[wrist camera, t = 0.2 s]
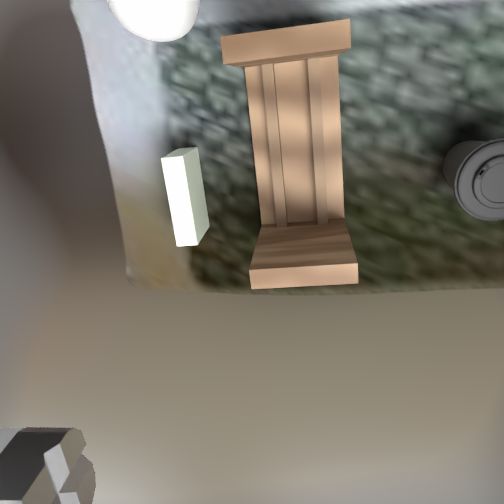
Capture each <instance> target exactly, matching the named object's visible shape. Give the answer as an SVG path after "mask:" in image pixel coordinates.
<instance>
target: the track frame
mask: <svg viewBox="0 0 504 504" xmlns="http://www.w3.org/2000/svg"><path fill="white" fill-rule="evenodd" d="M220 39H221V47H222V55H223V64H227V65H233V66H239V67H245V77H246V86H247V95H248V104H249V113H250V122H251V131H252V141H253V150H254V159H255V168H256V177H257V186H258V195H259V204H260V214H261V223H262V225H261V229H260V233H259V236H258V240H257V243H256V247H255V251H254V254H253V258H252V262H251V265H250V269H249V273H250V281H251V289H263V288H281V287H299V286H317V285H334V284H352V283H358V263H357V259H356V256H355V253H354V249H353V246H352V243H351V239H350V236H349V232H348V229H347V226H346V222H345V219H344V199H343V175H342V150H341V126H340V102H339V78H338V55H340V54H341V53H343V52H345V51H346V50H348V49H350V48H351V37H350V19H346V20H338V21H331V22H324V23H316V24H309V25H301V26H294V27H287V28H279V29H272V30H265V31H257V32H250V33H243V34H235V35H228V36H221V37H220Z"/></svg>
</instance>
